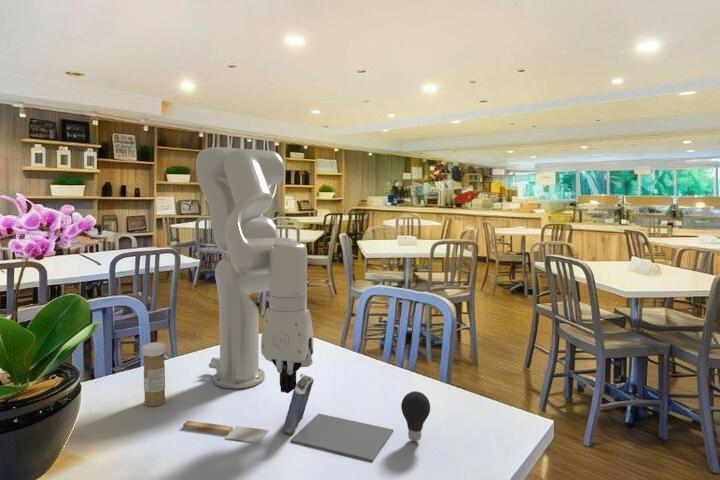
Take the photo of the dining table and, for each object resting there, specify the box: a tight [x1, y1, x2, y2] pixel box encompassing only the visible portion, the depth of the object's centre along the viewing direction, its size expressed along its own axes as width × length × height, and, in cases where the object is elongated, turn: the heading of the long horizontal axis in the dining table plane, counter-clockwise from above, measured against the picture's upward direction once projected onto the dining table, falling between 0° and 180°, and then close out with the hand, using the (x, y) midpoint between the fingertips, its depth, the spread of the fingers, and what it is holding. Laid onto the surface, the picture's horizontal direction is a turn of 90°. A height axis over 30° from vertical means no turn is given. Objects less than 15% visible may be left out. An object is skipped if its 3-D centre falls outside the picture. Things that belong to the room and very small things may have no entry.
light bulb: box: [400, 391, 431, 443], centre depth 94 cm, size 6×6×10 cm
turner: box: [182, 420, 269, 445], centre depth 97 cm, size 17×5×1 cm, turn 78°
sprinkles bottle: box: [142, 341, 166, 407], centre depth 108 cm, size 5×5×14 cm
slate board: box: [290, 412, 394, 463], centre depth 96 cm, size 17×12×1 cm
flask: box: [282, 373, 315, 435], centre depth 100 cm, size 9×3×11 cm, turn 172°
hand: (287, 390), depth 100 cm, fingers closed
